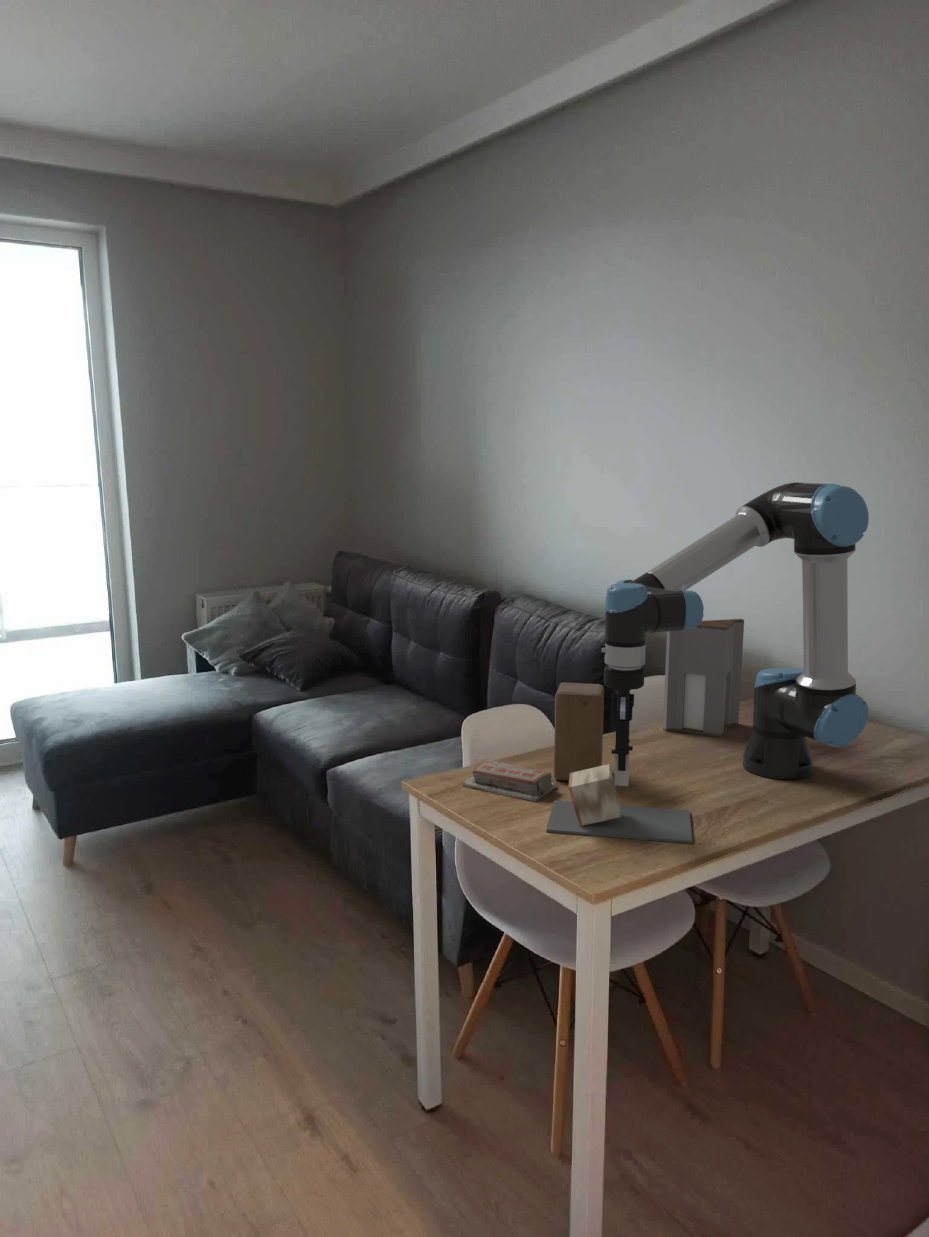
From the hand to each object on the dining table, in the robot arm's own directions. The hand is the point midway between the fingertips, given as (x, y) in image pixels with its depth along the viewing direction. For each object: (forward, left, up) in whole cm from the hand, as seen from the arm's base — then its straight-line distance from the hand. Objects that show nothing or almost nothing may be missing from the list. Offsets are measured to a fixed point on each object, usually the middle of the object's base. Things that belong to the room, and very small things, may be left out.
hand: (621, 784), depth 182 cm
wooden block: (+10, -25, -8) cm, 28 cm away
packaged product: (+24, -15, -8) cm, 30 cm away
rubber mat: (0, 0, -8) cm, 8 cm away
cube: (+1, 0, -1) cm, 2 cm away
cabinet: (-20, -63, -8) cm, 67 cm away
